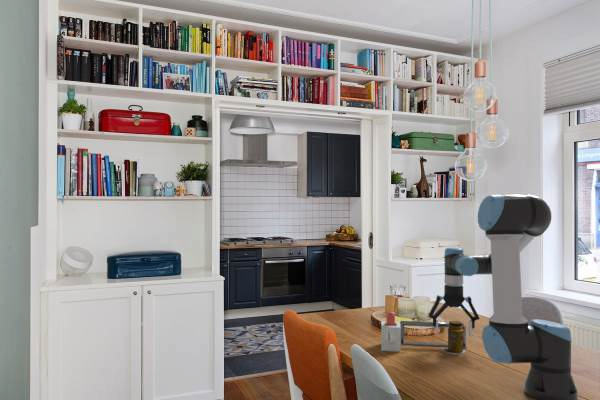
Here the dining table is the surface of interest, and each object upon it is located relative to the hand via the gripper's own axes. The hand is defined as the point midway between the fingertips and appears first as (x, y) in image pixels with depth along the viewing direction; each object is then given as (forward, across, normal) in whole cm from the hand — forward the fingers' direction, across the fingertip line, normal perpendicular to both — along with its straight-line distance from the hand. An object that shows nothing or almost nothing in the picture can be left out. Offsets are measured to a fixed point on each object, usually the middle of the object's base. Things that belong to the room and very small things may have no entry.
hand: (453, 335), depth 200 cm
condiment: (+7, 0, 0) cm, 7 cm away
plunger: (0, +26, 0) cm, 26 cm away
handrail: (+7, +8, -7) cm, 12 cm away
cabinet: (+7, +26, 0) cm, 27 cm away
